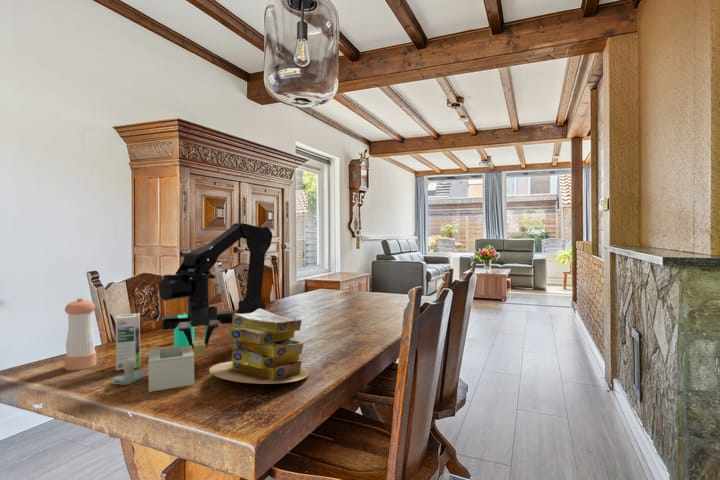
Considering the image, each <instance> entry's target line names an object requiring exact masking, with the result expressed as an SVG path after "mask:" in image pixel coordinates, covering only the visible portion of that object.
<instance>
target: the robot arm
mask: <svg viewBox="0 0 720 480" xmlns="http://www.w3.org/2000/svg"><path fill="white" fill-rule="evenodd" d="M241 239H244V240H246V242H245V243H246V246H247V249H248V251H249V260H248V261H249V262H248V271H247V279H246V280H247V283H246V292H245V295H244V296H245V297H243V299H242V300H239V301H238V302H237V303H238V304H237V305H238V308H237V309H238V310H237V311H236V312H237V313H236V314H245V313H252V312H254V311H256V310H257V309H259V308H260V309H264V310H266V304H265V302H264V299H263V297H262V294H263V293H262V291H263V281H264V269H265V268H264V267H265V258H266V253H267V252H268V251H269V249H270V247H271V244H272V240H273V231H272V230H271V229H270V228H269V227H267V226H256V225H251V224H249V223H246V222H235V223H233V224H232V225H231V227H229V228H228V229H226V230H225V231H224V232H222V233H221V234H219V235H218V236H217V237H216V238H214V239H213V240H212V241H210V242H209V243H208V244H205V245H204V246H201V247H198V248H195V249H192V250H191V251H189V252H187V253H186V254H185V255H184V256H183V261H182V263H181V264H180V266H179V267H178V269H177V270H176V272H175V274H164V275H163V279H162V280H161V281H160V283H159V286H158V292H159V297H160V298H161V299H162V300H163V301H165V302H166V301H171V300H178V299H184V298H187V299H186V300H187V307H186V308H187V315H188V317H184V318H178V316H179V315H178V314H173V315H172V314H171V315H164V316H163V317H162V318H161V330H165V331H166V330H174V329H175V328H176V327H177V326H178V329H179V331H183V332H184V334H185V335H186V337H187V340H188V343H189V345H191V346H192V349H193V344H192V337H191V330H190V326H189V324H191V326H192V327H194V328H196V327H201V326H205V331H204V339H203V340H204V342H205V344H206V349H207V347H208V344H209V341H210V338H211V335H212V333H213V331H214V330H215V328H219V324H218V323H221V324H222V325H226V324H233V315H234V314H233V313H232V312H231V311H230V310H220V311H218V307H217V306H210V292H209V291H210V287H209V285H210V284H209V283H210V282H209V280H210V279H211V280H213V279H215V278H216V276H215V274H213V273H212V272H211V269H212V268H213V267H214V266H215V264H217V261H218V258H219V257H220V256H221V254H223V253H224V252H225V251H227V250H229V248H231V247H232V246H233V245H235V244H236V243H237V242H238V241H239V240H241Z"/></svg>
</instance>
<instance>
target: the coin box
mask: <svg viewBox="0 0 720 480" xmlns="http://www.w3.org/2000/svg"><path fill="white" fill-rule="evenodd" d="M147 362H148V364H147V365H148V393H151V392H156V391H163V390H168V389H175V388H182V387H188V386H194V385H195V357H194V353H193V349H192V346H191V345H188V346H179V347H174V346H173V347H163V348H162V347H161V348H155V349H149V351H148V361H147Z"/></svg>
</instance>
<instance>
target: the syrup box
mask: <svg viewBox="0 0 720 480" xmlns="http://www.w3.org/2000/svg"><path fill="white" fill-rule="evenodd" d="M140 316H141V314H140V312H137V313H128V314H127V313H125V314H117V315H116V318H115V349H116V350H115V351H116V355H115V358H116V360H115V361H116V363H115V367H116V368H115V370H116V371H121V370H123V364H124V362H125V361H126V360H127V359H130V358H132V359H134V360H135V362H136V365H135V367H134V369H136V368H140V366H141V327H140V326H141V325H140V324H141V317H140Z"/></svg>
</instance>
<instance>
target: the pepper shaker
mask: <svg viewBox="0 0 720 480" xmlns="http://www.w3.org/2000/svg"><path fill="white" fill-rule="evenodd" d="M95 309H96V305H95V303H94V302H92V301H90V300H85V299H84V298H82V297H80V298H79V297H78V298H77V299H76V301H75V300H74V301H71V302H69V303H67V305H65V307H64V312H65V313H66V315H67V314H68V320H67V323H68V324H67V325H68V326H67V327H68V330H67V336H66V340H65V341H66V342H65V346H66V347H65V350H66V354H65V355H64V369H65V371H80V370H84V369H85V370H86V369H89V368H93V367H94V366H96V365H97V351H96V350H95V346H96V345H95V344H96V343H95V341H96V339H95V334H94V330H93V312H95Z"/></svg>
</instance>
